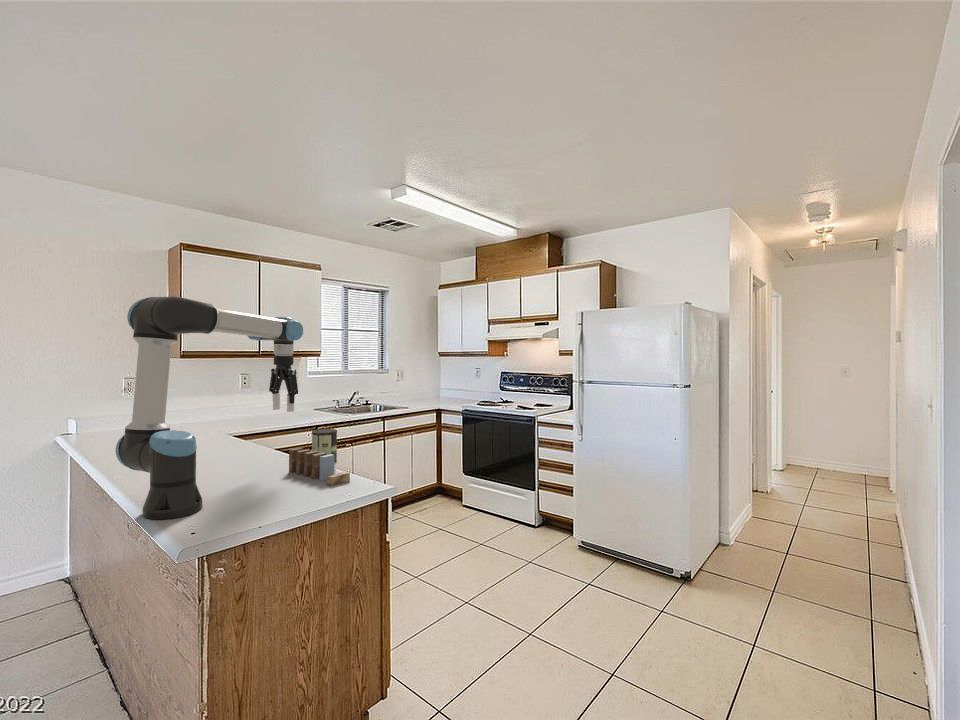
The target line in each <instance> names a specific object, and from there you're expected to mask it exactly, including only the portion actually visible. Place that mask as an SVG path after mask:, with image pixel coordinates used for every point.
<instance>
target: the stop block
mask: <svg viewBox="0 0 960 720" xmlns="http://www.w3.org/2000/svg"><path fill="white" fill-rule="evenodd" d="M350 478H351V473H350V472H349V471H341V472H337V473H334V474H333V475H329V476H327V481H326V484H327V485H329V486H336V485H339V484H343V483H347V482H350V480H351V479H350Z"/></svg>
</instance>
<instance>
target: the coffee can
mask: <svg viewBox="0 0 960 720" xmlns="http://www.w3.org/2000/svg"><path fill="white" fill-rule="evenodd" d="M337 434H338V430H337V429H336V428H335V429H333V428H321V429H314V430H311V452H312V451H318V453H326V455H330V454H332V455H334V466H335V465H337V463H338V462H337V461H338V460H337V457H338V456H337V455H338V452H337V448H338V447H337V445H338V444H337V442H338V441H337V440H338V435H337Z"/></svg>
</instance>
